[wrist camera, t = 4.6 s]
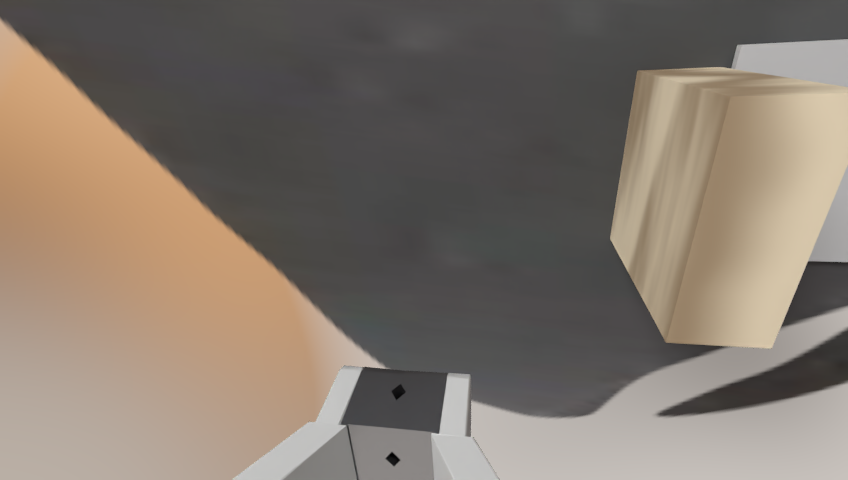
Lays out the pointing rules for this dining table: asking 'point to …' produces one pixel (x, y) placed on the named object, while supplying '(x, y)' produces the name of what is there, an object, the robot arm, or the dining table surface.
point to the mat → (818, 62)
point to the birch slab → (726, 197)
